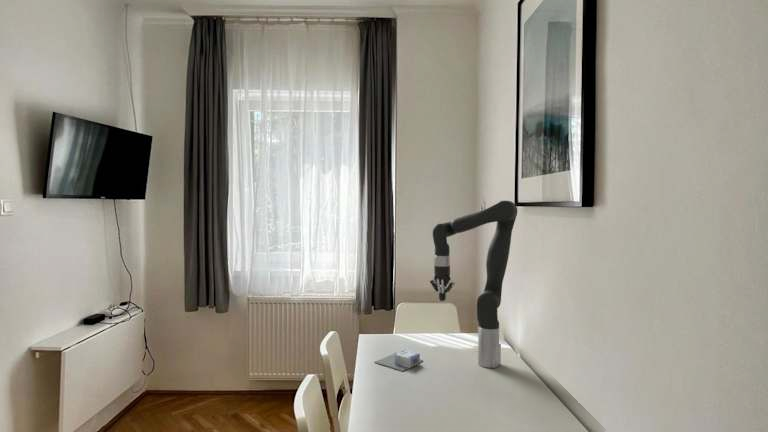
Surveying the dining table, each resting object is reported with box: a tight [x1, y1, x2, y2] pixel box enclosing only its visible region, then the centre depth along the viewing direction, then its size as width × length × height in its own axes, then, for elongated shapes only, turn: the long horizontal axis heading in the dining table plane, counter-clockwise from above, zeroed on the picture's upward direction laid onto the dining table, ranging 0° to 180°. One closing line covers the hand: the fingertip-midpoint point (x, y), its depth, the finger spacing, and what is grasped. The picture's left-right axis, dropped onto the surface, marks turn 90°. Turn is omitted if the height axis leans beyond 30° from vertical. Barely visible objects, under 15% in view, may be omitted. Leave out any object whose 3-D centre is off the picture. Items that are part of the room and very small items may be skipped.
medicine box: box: [395, 349, 421, 369], centre depth 186 cm, size 8×4×9 cm
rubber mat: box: [374, 352, 424, 373], centre depth 189 cm, size 16×16×1 cm
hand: (442, 300), depth 197 cm, fingers closed
